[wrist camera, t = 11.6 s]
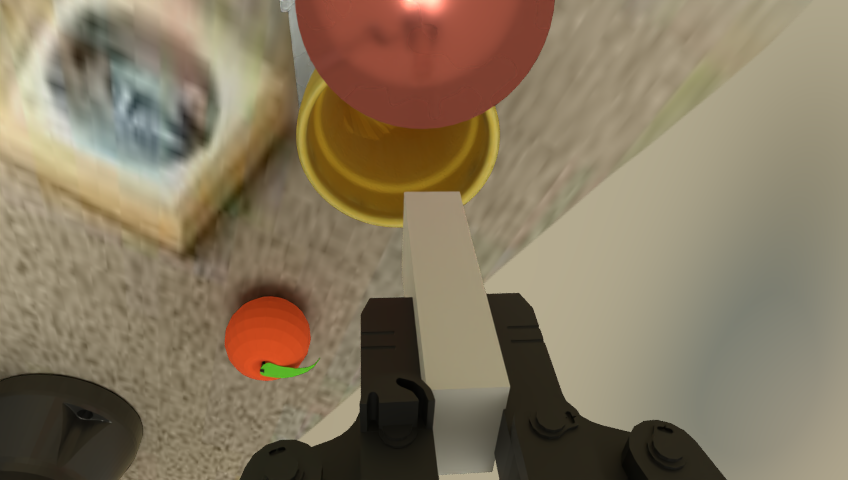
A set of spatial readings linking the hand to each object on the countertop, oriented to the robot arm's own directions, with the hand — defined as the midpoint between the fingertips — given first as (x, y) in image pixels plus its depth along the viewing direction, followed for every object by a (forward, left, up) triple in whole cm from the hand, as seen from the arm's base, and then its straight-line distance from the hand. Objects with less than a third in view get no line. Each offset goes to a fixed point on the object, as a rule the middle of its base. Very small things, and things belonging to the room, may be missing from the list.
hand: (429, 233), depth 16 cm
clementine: (-26, +10, -25) cm, 38 cm away
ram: (+6, 0, -18) cm, 19 cm away
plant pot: (-4, 0, -23) cm, 23 cm away
